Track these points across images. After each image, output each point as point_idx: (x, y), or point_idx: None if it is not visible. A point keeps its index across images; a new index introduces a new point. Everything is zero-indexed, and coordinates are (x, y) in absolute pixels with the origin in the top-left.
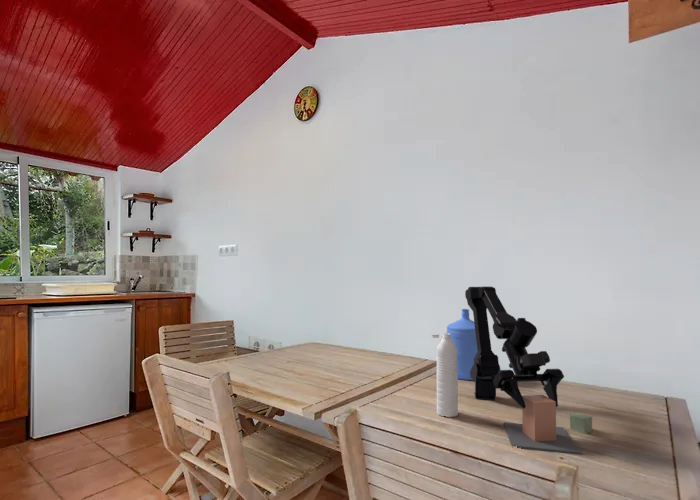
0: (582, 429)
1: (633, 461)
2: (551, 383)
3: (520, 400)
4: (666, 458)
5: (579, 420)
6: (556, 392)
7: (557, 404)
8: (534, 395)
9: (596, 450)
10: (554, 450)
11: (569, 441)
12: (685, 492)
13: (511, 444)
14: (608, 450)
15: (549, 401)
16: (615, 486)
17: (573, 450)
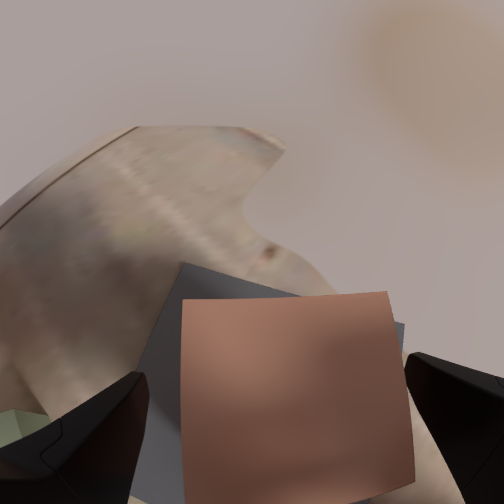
0: (43, 422)
1: (81, 219)
2: (27, 481)
3: (454, 368)
4: (9, 229)
5: (27, 431)
6: (58, 421)
7: (132, 373)
8: (293, 501)
9: (112, 286)
10: (270, 289)
11: (162, 348)
12: (120, 130)
13: (400, 344)
14: (78, 281)
15: (240, 310)
16: (227, 141)
17: (202, 276)
